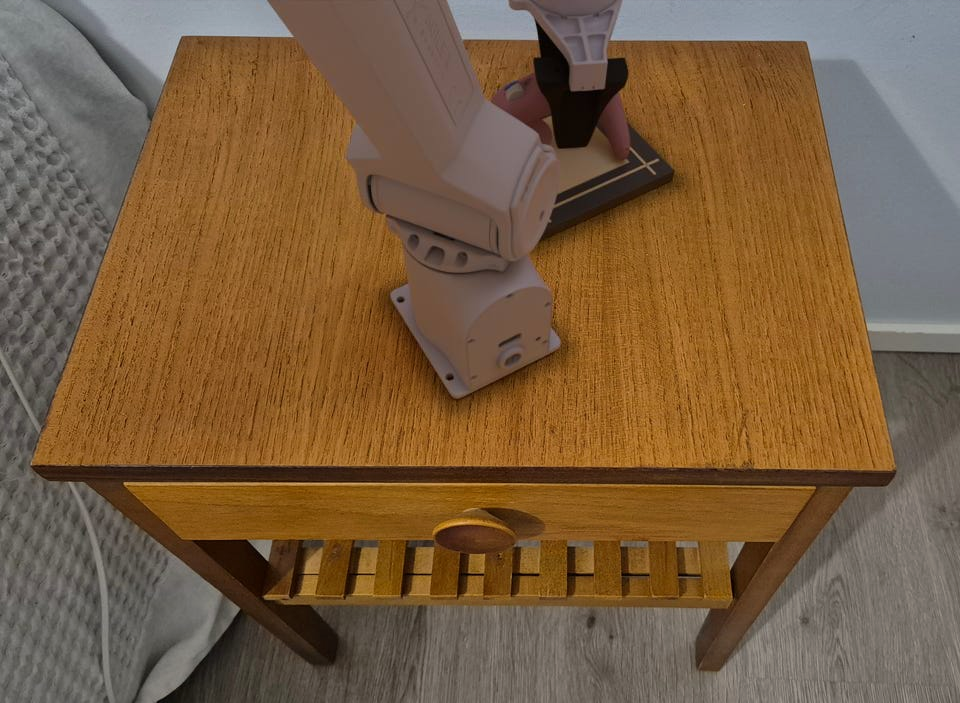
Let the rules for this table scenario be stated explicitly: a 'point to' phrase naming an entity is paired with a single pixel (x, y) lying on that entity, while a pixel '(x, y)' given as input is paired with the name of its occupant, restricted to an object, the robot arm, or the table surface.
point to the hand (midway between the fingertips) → (564, 106)
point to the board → (602, 177)
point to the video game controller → (531, 105)
